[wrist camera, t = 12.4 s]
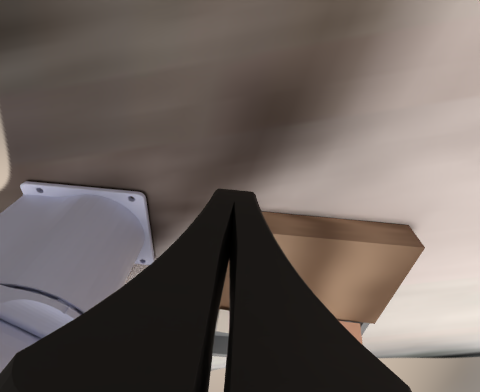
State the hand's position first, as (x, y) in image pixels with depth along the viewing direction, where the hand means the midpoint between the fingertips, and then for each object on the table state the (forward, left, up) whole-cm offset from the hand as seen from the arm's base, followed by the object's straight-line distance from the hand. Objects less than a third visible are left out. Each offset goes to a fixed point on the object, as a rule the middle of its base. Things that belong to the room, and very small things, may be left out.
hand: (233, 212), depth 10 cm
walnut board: (+6, -12, -9) cm, 16 cm away
